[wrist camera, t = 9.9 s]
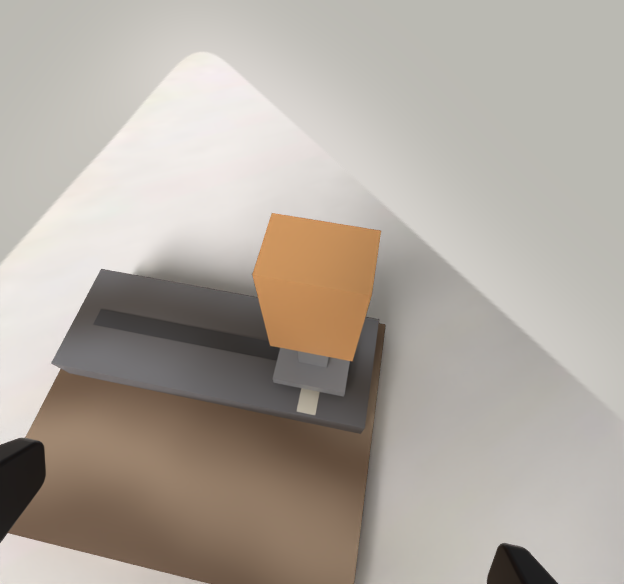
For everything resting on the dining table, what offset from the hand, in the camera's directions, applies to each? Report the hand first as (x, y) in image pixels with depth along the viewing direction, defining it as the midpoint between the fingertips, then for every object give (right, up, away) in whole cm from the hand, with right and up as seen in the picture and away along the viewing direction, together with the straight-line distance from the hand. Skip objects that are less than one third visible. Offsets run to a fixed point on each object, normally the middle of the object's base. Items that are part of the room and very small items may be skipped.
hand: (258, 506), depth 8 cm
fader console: (-4, -2, +12) cm, 13 cm away
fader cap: (+1, +1, +10) cm, 10 cm away
